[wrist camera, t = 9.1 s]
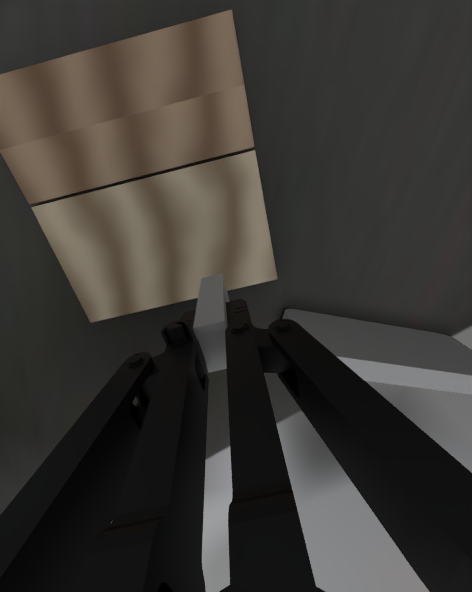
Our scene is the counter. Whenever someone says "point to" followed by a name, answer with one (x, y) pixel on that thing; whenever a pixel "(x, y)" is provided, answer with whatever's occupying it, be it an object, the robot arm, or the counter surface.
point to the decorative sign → (392, 352)
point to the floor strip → (125, 109)
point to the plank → (162, 237)
